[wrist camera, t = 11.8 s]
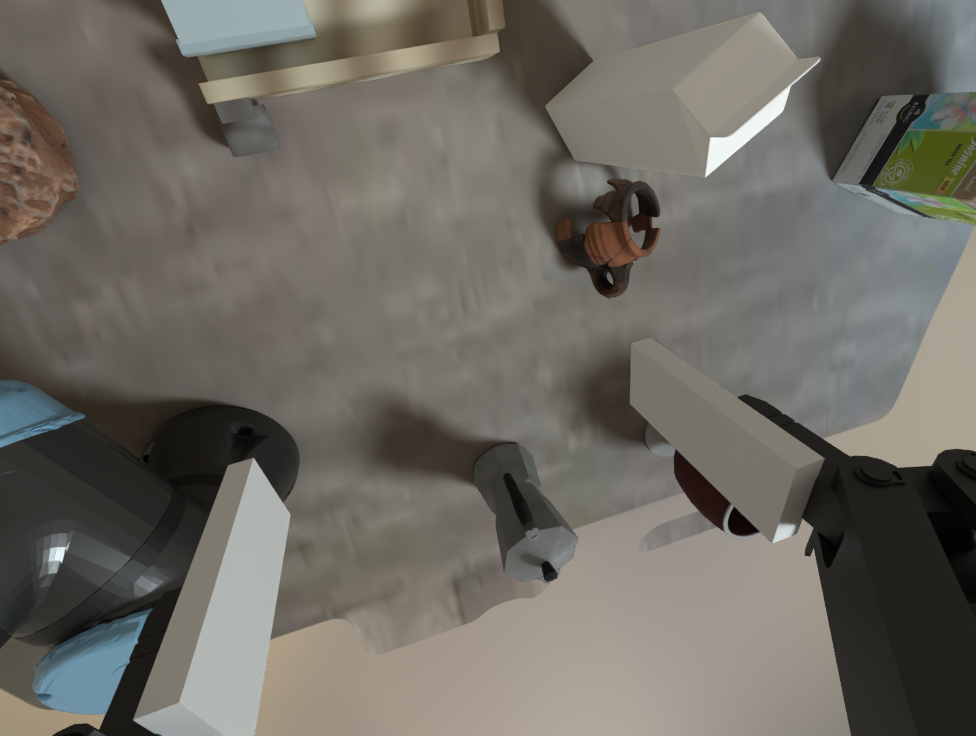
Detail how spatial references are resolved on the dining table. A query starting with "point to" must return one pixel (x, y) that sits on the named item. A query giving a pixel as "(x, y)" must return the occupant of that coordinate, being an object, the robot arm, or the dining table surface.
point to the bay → (345, 56)
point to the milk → (679, 98)
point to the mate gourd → (702, 490)
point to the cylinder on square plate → (236, 24)
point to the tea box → (917, 156)
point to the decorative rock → (31, 165)
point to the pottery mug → (613, 236)
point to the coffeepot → (523, 515)
